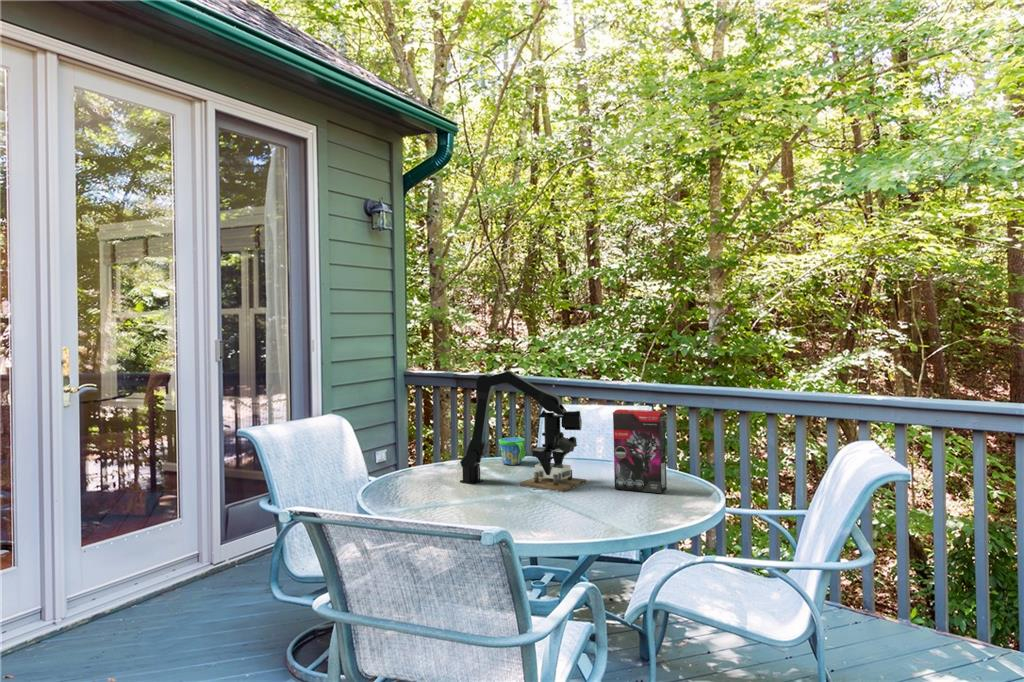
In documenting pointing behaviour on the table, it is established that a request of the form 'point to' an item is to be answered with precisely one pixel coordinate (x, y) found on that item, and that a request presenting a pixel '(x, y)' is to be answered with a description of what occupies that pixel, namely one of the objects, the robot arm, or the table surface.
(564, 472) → the drive
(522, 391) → the robot arm
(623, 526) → the table surface
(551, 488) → the wooden peg board
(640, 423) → the graphics card box
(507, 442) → the snack cup
